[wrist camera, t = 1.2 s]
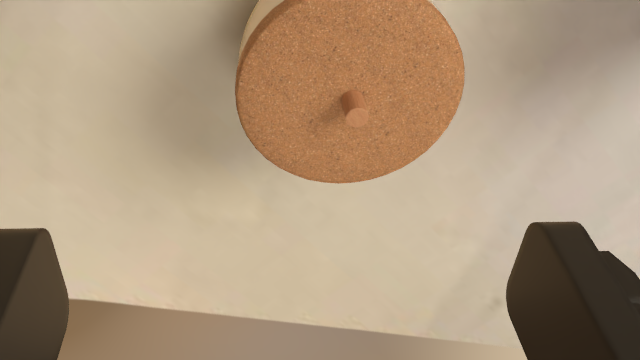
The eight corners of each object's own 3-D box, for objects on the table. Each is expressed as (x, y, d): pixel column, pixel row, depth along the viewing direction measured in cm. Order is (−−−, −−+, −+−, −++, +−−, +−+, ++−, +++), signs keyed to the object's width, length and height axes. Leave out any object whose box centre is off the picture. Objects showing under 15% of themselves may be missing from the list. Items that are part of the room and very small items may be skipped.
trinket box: (300, 131, 38) (315, 236, 31) (194, -4, 32) (183, 91, 25) (454, 46, 36) (509, 140, 28) (371, -121, 29) (416, -51, 22)
